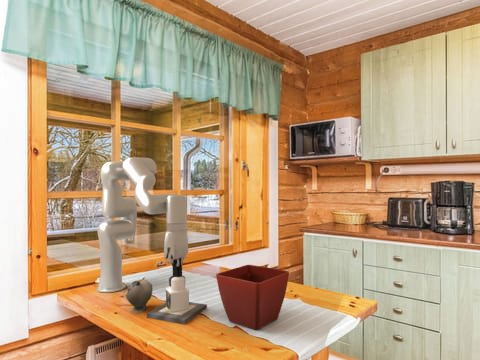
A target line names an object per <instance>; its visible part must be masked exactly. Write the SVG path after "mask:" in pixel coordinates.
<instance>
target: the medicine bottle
mask: <svg viewBox="0 0 480 360" xmlns="http://www.w3.org/2000/svg"><path fill="white" fill-rule="evenodd" d="M165 298H166V299H165V301H166V302H165V303H166V307H167V308H168V310H169V311H170V312H177V311H183V310H188V309H189V302H190V290H189V289H188V288H187V287H186V277H185V275H182V276H180V277H173V275H171V276H170V277H169V279H168V287H166V288H165Z"/></svg>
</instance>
